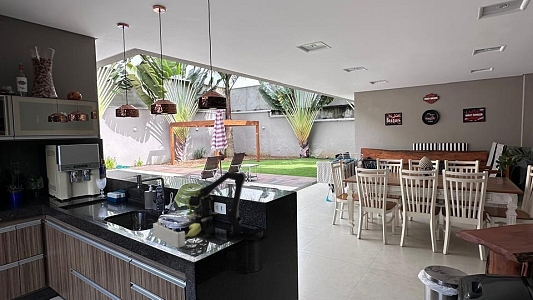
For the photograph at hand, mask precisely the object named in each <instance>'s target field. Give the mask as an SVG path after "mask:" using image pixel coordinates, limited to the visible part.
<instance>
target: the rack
mask: <svg viewBox="0 0 533 300" xmlns="http://www.w3.org/2000/svg"><path fill="white" fill-rule="evenodd" d="M152 225H153V226H152V227H153V228H152V232H153V234H152V236H153V237H154V238H157V239H159V240H161V241H162V242H165V243H167V244H169V245H171V246H173V247H176V248H177V249H179V248H183V247H185V246H186V237H185V235H186V233H185V231H184V230H183V231H180V232H177V231H176V230H174V227H175V226H174V225H172V226H171V227H172V228H169V225H170V224H169V223H167V224H166V226H167V227H165V225H164V221H162V222H161V221H160V220H157V222H155V223H152Z"/></svg>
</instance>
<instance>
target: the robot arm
mask: <svg viewBox="0 0 533 300" xmlns="http://www.w3.org/2000/svg"><path fill="white" fill-rule="evenodd" d="M228 179H229V180H234V181H235V182H234V184H235V188H234V194H233V200H232V205H231V208H229V209H228V210H227V215H226V218H227V221H228V222H229V224H230V227H231V228H230V231H231V232H229V234H230V235H232V236H239V235H242V234H244V232H242V221H243V218H241V217H240V211H239V206H240V200H241V194H242V190H243V186H244V184H245V181H246V179H247V175H246V173H245V172H242V171H240V172H232V171H226V172H225V173H224V174H222V175H221V176H220V177H218V178H217V179H215V180H214V181H213V182H211V183H209V184H208V185H206V186H204V187H202V188H201V189H200V190H199V194H198V195H190V196H189V201H188V206H190V207H200V206H201V207H200V208H199V210H198V209H194V210H193V215H194V216H192V217H191V218H190V221H191V222H192V223H194V224H195V223H197V224H199V223H201V224H202V226H203V229H204V231H208V229H209V226H210V225H211V222H212V221H213V218H214V217H215V218H216V219H220V218H221V215H220V213H219V212H216V211H213V212H211V210H212V207H211V201H212V200H214V197H212V195H211V194H212V192H214V190H215V189H216V188H217V187H218V186H221V184H223V183H224V182H225V181H226V180H228Z"/></svg>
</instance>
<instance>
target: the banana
mask: <svg viewBox="0 0 533 300" xmlns="http://www.w3.org/2000/svg"><path fill="white" fill-rule="evenodd" d="M188 228H189V229H190V230H189V231H188V233H187V234H185V238H188V237H192V238H193V237H196V236H197V235H198V234H199V233H201V231H202V227H201V224H200V223H195V222H194V223H192V224H190V225H189V226H188Z"/></svg>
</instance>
